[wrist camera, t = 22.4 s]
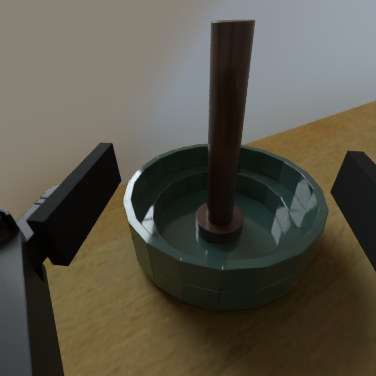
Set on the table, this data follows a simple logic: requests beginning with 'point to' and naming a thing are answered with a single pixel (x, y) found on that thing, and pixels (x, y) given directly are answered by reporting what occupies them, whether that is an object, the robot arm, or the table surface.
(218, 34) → the spurtle
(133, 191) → the stir bowl
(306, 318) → the table surface
